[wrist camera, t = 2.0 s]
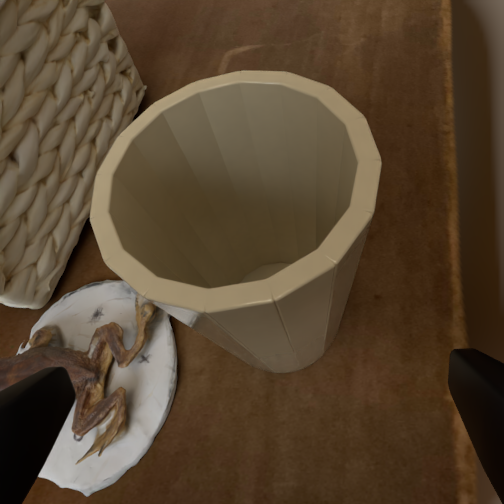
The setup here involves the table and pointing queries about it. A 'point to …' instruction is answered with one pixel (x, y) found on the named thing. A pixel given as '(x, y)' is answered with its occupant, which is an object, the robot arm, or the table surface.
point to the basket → (55, 132)
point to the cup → (243, 211)
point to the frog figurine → (102, 380)
